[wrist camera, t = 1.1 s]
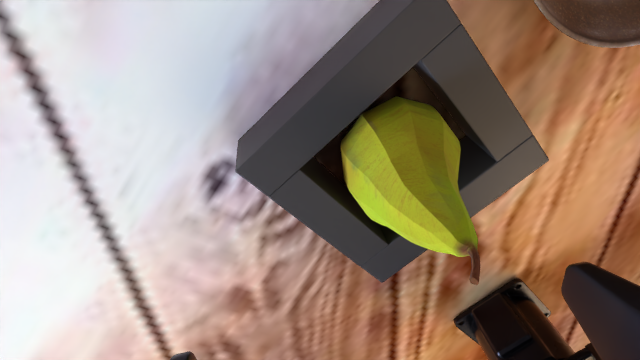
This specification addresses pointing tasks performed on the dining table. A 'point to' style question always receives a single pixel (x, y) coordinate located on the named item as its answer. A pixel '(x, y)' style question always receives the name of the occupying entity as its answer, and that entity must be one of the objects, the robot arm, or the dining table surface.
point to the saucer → (595, 20)
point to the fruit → (410, 177)
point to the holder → (357, 95)
